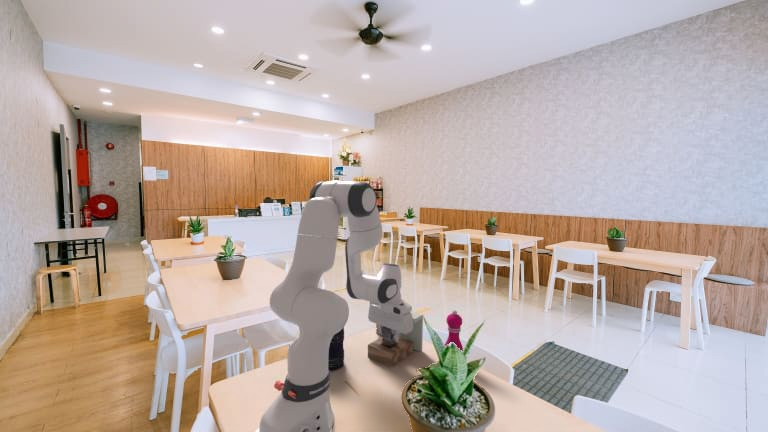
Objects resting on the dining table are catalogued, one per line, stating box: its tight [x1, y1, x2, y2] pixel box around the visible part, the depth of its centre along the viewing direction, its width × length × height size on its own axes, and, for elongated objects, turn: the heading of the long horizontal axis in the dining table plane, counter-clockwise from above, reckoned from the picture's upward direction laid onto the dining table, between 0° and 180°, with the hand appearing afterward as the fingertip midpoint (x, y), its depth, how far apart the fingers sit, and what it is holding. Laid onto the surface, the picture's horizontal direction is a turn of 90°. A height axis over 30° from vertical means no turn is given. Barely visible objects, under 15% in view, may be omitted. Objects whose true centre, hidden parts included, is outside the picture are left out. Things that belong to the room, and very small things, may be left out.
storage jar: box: [328, 326, 345, 372], centre depth 117 cm, size 10×10×15 cm
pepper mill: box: [444, 309, 464, 352], centre depth 121 cm, size 7×7×20 cm
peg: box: [381, 327, 396, 349], centre depth 124 cm, size 4×4×12 cm
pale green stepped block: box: [399, 311, 424, 353], centre depth 131 cm, size 6×16×16 cm, turn 51°
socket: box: [367, 336, 414, 369], centre depth 125 cm, size 14×12×5 cm
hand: (389, 337), depth 124 cm, fingers open, 5 cm apart
